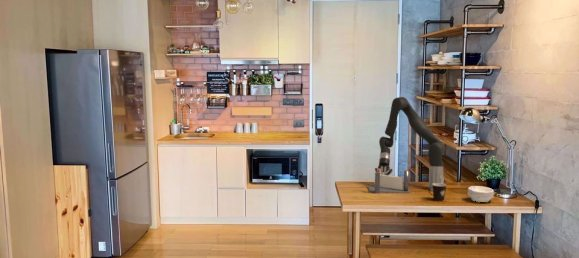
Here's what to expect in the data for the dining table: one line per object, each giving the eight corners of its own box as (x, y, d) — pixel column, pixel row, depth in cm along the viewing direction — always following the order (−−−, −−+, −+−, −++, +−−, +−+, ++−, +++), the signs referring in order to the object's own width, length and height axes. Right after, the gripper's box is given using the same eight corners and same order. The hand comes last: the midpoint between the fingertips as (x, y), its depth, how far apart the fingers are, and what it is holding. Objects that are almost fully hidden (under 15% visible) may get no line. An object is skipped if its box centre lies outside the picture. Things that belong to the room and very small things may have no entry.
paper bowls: (496, 204, 284) (496, 192, 283) (470, 203, 286) (470, 191, 286) (489, 198, 299) (490, 186, 298) (465, 197, 301) (465, 185, 300)
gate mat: (405, 187, 328) (405, 185, 328) (410, 193, 312) (410, 191, 311) (367, 186, 330) (367, 185, 330) (370, 192, 313) (370, 191, 313)
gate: (403, 189, 316) (403, 171, 315) (402, 190, 314) (402, 172, 313) (377, 185, 326) (378, 168, 325) (376, 186, 324) (376, 169, 323)
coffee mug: (444, 198, 299) (444, 183, 297) (447, 201, 290) (447, 186, 289) (425, 197, 300) (426, 182, 299) (428, 201, 291) (429, 186, 290)
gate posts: (407, 191, 316) (407, 170, 314) (408, 192, 313) (409, 171, 311) (374, 192, 314) (374, 170, 312) (375, 193, 311) (375, 171, 309)
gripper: (375, 156, 333) (372, 177, 323) (393, 157, 330) (392, 178, 320) (375, 162, 339) (373, 182, 329) (394, 163, 335) (392, 183, 325)
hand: (382, 180), depth 324 cm, fingers closed
